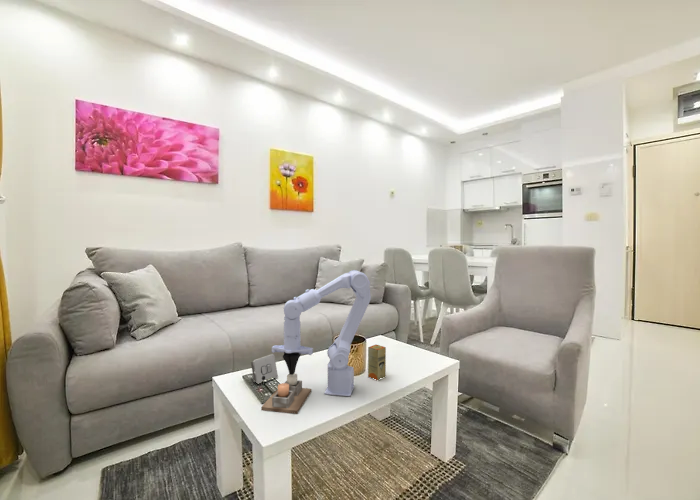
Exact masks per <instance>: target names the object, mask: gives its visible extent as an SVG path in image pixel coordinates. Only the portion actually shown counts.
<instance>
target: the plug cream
mask: <svg viewBox="0 0 700 500" xmlns="http://www.w3.org/2000/svg"><path fill="white" fill-rule="evenodd" d="M297 380H298V374H297V373H296V372H295V373H294V374H293V375H290V374H289V373H288V374H287V376H286V381H287V384H289V386H295V385H297Z"/></svg>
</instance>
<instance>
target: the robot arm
mask: <svg viewBox="0 0 700 500" xmlns="http://www.w3.org/2000/svg"><path fill="white" fill-rule="evenodd" d="M340 289H352V292H353V294H354V296H355V299H354V301H353V304H352V306H351V308H350V310H349V313H348V315H347V317H346V319H345V321H344V323H343V325H342V328H341V330H340V332H339V335H338V337H336V338H335V339H334V342H333V343H332V344H331V345H330V346H329V347H328V349H327V351H326V353H327V357H328V359H329V361H328V363H327V387H326V389H325V391H324V392H323V393H324V395H328V396H329V395H331V396H339V397H340V396H341V397H351V396H352V394H353V390H354V388H355V369H354V368H355V367H353V366H351V365H350V366H349V365H348V363H349V356H350V353H351V345H352V342H353V340H354V337H355V335H356V333H357V331H358V328H359V327H360V324H361V322H362V321H363V318H364V316H365V313H366V311H367V309H368V306H369V304H370V302H371V299H372V296H371V281H370V280H369V277H368V276H367V274H366V273H364V272H362V271H359V270H358V269H352V270H350V271H348V272H344V273H343V274H341V275H339V276H337V277H336V278H335V279H332V281H329V282H328V283H326V284H325V285H323V286H321V287H320V288H318V289H315V288H311V289H309V288H307V289H305V292H304V293H302V294H300V295H299V296H294V297H293V299H289V300H287V301H286V302H285V304H284V306H283V314H284V318H283V320H284V322H283V344H280V345H279V344H278V345H276V344H275V345H273V346H271V353H283V355H282V359H283V360H284V362H285V363H286V366H287V367H286V368H287V370H288V374H290V375H293V374H294V373H295V374H296V369H297V366H298V365H297V364H298V362H299V359H300V357H301V355H302V354H303V355H308V356H312V355H313V353H314V348H313V347H309V346H303V345H301V319H300V317H301V314H302V313H305V312H306V311H308V310H309V309H310V310H311V309H312V308H314V307H315V306H317V305H318V304H320V302H321V299H323V298H324V297H326V296H329V294H331V293H334V292H336V291H338V290H340Z"/></svg>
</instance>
